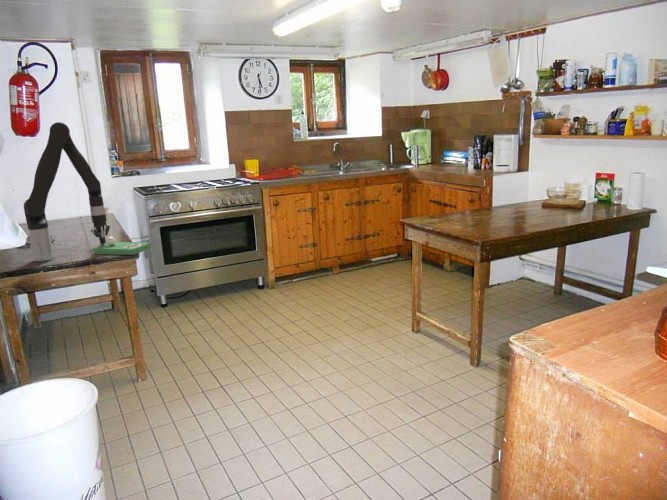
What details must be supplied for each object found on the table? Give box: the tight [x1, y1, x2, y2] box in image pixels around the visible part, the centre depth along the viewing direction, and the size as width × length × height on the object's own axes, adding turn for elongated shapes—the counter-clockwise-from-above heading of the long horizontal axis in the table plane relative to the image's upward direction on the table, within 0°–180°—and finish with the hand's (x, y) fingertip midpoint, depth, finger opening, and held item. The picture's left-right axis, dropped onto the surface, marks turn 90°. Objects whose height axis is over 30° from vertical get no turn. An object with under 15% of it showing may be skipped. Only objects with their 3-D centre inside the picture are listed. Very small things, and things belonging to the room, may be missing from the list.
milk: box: [103, 207, 115, 245], centre depth 297 cm, size 6×6×22 cm
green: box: [92, 241, 152, 256], centre depth 278 cm, size 16×26×3 cm, turn 74°
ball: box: [106, 237, 117, 246], centre depth 279 cm, size 5×5×5 cm
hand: (103, 243), depth 281 cm, fingers closed
